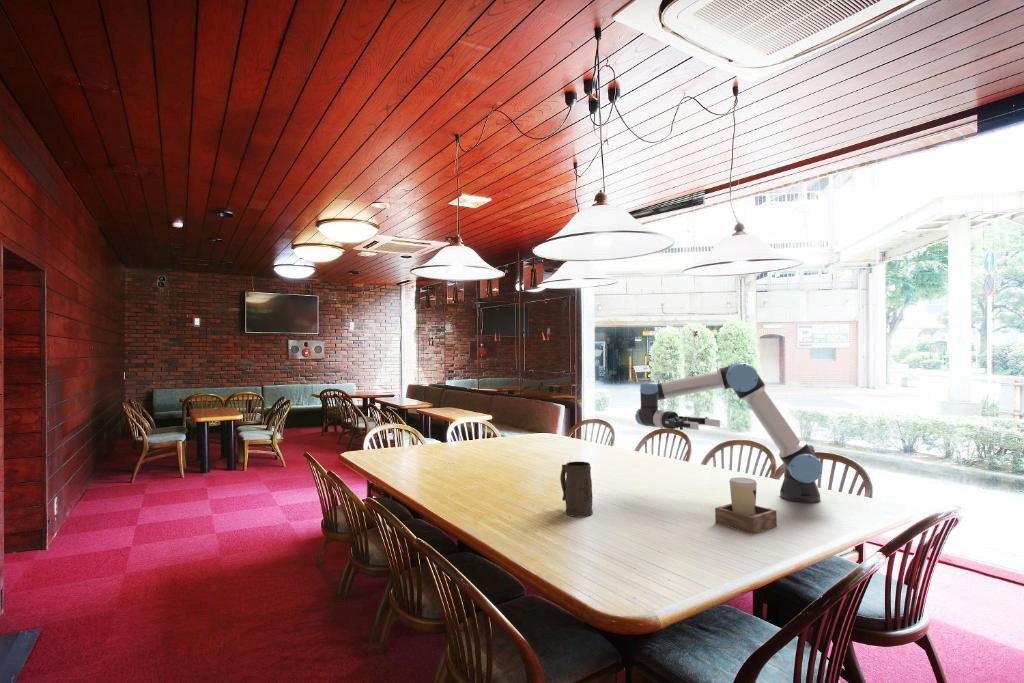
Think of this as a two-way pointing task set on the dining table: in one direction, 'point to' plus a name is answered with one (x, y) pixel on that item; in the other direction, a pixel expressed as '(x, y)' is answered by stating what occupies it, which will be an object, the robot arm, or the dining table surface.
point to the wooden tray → (746, 519)
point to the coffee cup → (743, 495)
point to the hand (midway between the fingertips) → (708, 424)
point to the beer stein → (577, 488)
